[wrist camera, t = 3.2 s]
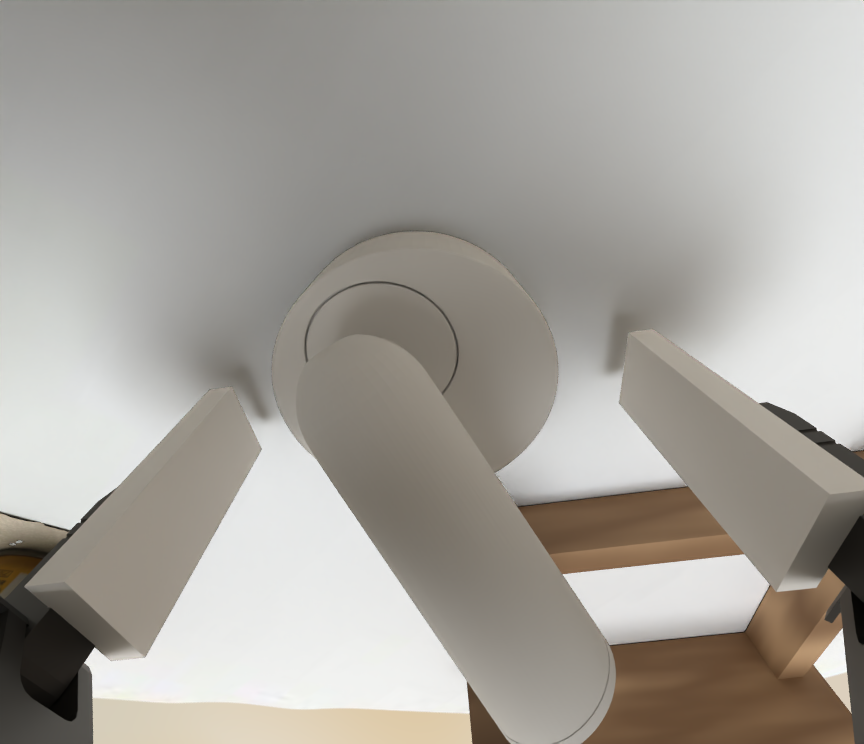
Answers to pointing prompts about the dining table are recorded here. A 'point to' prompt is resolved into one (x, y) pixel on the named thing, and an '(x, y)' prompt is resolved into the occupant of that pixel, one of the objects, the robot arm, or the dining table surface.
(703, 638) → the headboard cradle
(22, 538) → the condiment
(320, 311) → the wall hook
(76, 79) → the dining table surface
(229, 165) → the dining table surface
